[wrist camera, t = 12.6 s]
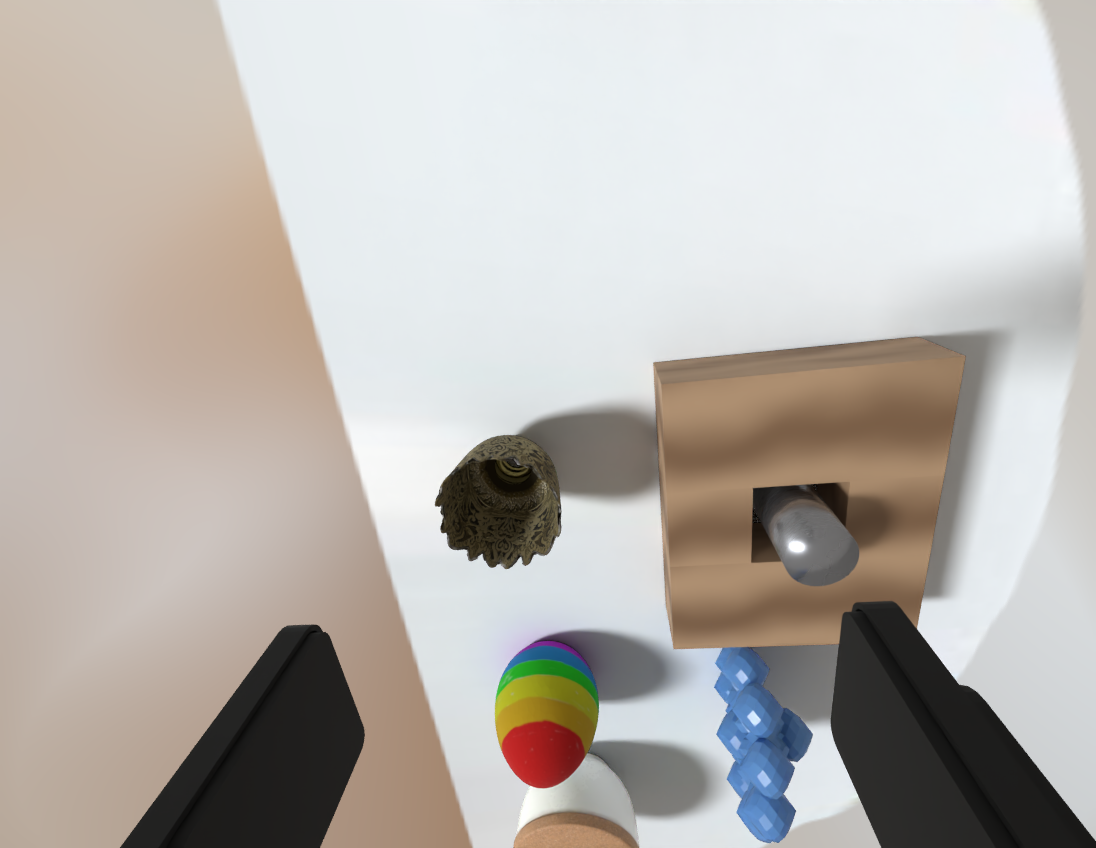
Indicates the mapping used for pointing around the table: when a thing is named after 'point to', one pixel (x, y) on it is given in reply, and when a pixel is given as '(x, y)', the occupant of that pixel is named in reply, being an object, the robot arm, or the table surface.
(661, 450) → the walnut block
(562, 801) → the lidded jar
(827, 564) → the steel peg
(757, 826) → the grapes
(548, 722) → the decorative egg
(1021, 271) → the table surface
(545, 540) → the cup
